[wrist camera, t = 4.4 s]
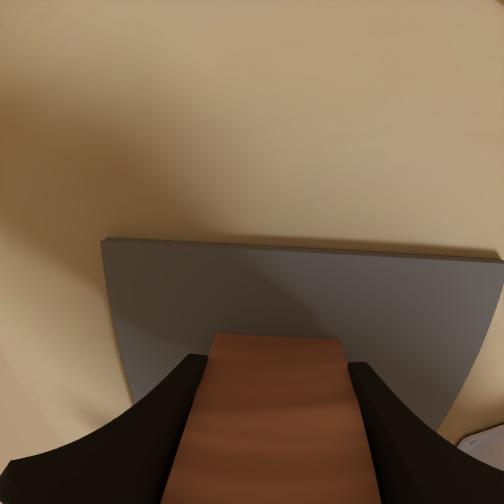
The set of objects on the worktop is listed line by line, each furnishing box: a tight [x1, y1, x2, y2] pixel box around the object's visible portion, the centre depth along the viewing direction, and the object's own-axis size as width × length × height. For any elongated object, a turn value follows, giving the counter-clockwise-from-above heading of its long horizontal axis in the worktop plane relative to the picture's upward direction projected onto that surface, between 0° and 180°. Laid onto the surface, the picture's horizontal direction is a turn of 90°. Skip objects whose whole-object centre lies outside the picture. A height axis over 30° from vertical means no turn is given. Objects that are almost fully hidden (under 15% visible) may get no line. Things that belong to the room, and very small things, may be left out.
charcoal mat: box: [100, 238, 504, 432], centre depth 15 cm, size 16×34×1 cm, turn 178°
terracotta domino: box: [160, 333, 381, 504], centre depth 7 cm, size 2×4×7 cm, turn 89°
